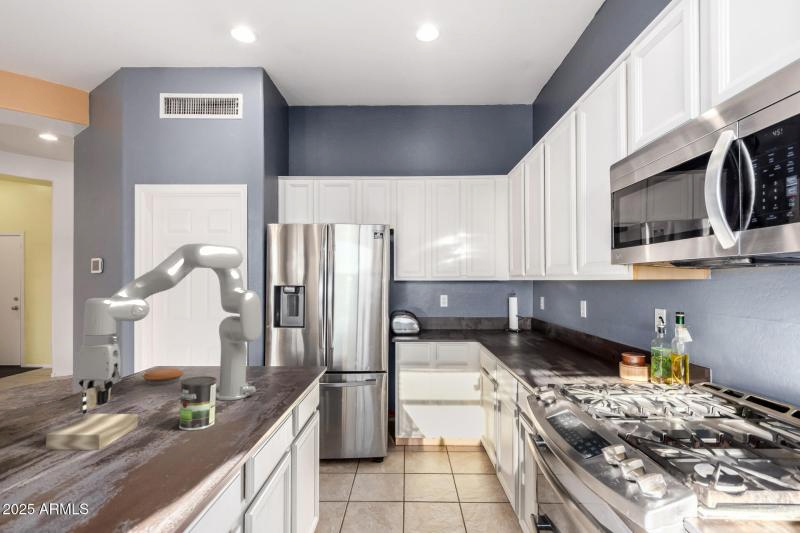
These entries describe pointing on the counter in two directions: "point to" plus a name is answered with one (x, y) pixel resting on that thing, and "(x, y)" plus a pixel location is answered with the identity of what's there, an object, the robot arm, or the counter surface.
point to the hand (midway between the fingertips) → (96, 403)
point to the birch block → (92, 432)
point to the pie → (162, 376)
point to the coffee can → (197, 403)
